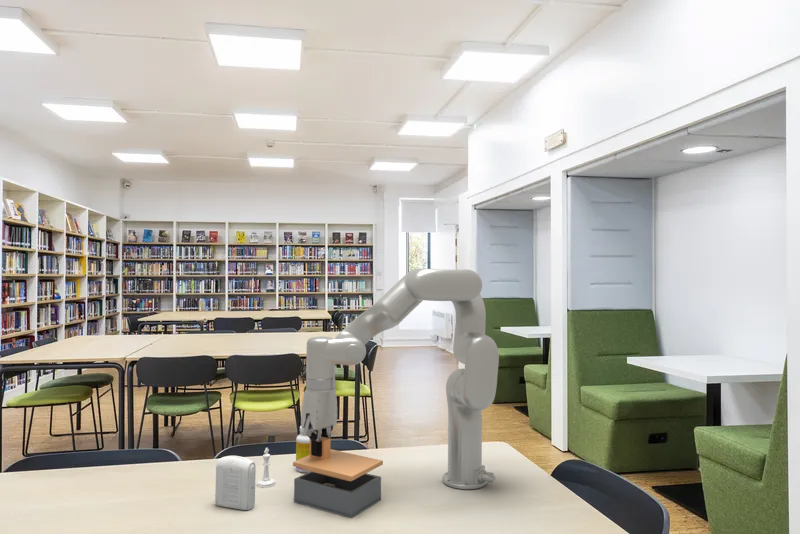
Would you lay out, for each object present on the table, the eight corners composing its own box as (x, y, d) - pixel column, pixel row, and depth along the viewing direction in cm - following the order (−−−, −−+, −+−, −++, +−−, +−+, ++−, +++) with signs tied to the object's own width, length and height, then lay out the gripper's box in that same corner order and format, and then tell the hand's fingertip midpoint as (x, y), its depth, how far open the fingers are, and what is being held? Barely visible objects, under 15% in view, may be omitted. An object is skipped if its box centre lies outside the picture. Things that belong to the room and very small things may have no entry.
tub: (380, 500, 147) (381, 476, 147) (351, 518, 136) (351, 493, 136) (325, 486, 156) (326, 464, 156) (294, 502, 145) (294, 478, 145)
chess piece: (278, 482, 158) (279, 446, 159) (267, 488, 154) (268, 451, 154) (264, 479, 161) (265, 444, 161) (253, 485, 156) (253, 449, 156)
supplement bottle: (313, 474, 165) (314, 430, 165) (292, 472, 166) (292, 428, 167) (321, 466, 172) (321, 424, 172) (300, 465, 173) (301, 422, 173)
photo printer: (257, 505, 143) (258, 456, 143) (248, 512, 139) (248, 461, 139) (222, 500, 146) (223, 451, 146) (212, 506, 142) (213, 456, 142)
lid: (382, 468, 147) (383, 441, 147) (352, 484, 135) (352, 455, 135) (326, 455, 157) (326, 430, 157) (292, 469, 145) (293, 442, 145)
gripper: (328, 377, 158) (328, 444, 158) (289, 387, 144) (288, 460, 144) (350, 380, 154) (349, 448, 154) (312, 390, 140) (311, 465, 140)
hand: (320, 453), depth 149 cm, fingers closed on lid
